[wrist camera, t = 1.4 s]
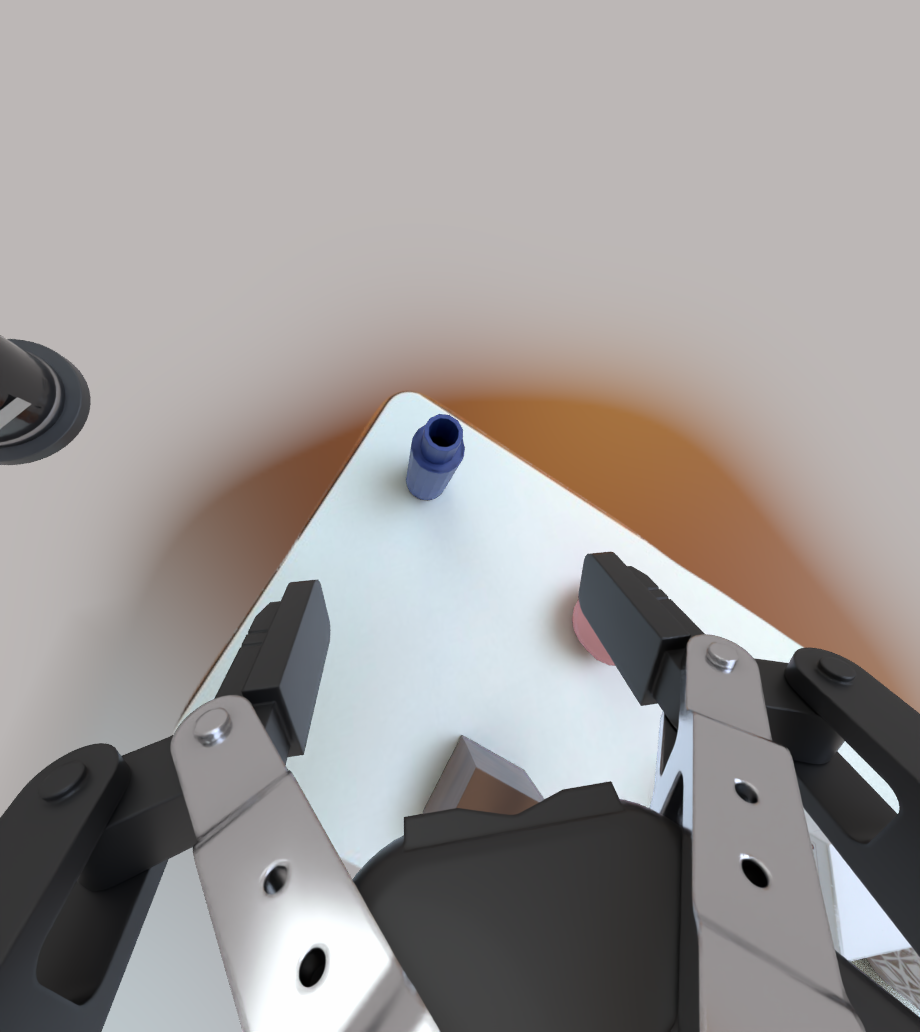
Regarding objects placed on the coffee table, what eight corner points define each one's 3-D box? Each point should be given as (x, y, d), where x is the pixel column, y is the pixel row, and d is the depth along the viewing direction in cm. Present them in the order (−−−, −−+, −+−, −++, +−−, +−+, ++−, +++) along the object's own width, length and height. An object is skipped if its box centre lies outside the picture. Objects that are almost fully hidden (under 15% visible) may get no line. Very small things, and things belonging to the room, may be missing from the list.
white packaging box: (748, 751, 39) (912, 831, 27) (756, 830, 38) (931, 951, 26) (687, 756, 38) (830, 843, 26) (694, 837, 37) (846, 969, 24)
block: (422, 811, 33) (429, 862, 27) (461, 734, 34) (476, 767, 28) (489, 847, 33) (510, 905, 27) (524, 770, 35) (551, 809, 29)
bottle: (398, 486, 37) (402, 439, 24) (420, 454, 38) (434, 393, 25) (432, 507, 37) (453, 472, 25) (452, 475, 38) (483, 426, 25)
